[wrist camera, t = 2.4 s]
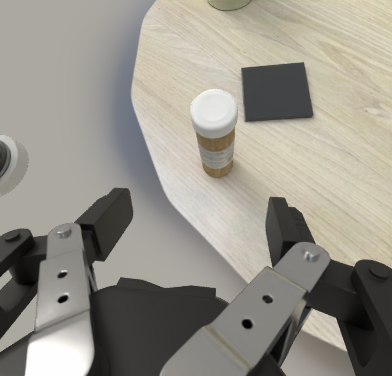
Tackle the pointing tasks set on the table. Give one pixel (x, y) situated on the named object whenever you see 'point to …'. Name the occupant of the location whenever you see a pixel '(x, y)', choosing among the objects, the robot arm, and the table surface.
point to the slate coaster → (276, 92)
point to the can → (228, 4)
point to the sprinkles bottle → (215, 129)
